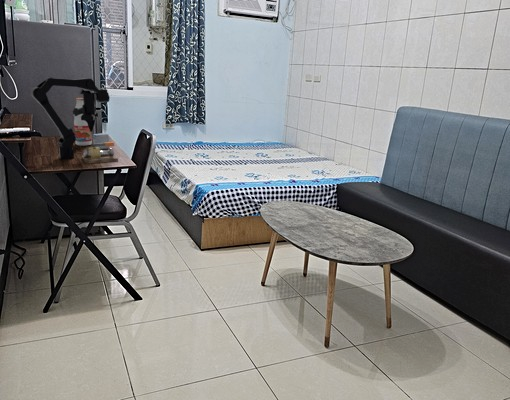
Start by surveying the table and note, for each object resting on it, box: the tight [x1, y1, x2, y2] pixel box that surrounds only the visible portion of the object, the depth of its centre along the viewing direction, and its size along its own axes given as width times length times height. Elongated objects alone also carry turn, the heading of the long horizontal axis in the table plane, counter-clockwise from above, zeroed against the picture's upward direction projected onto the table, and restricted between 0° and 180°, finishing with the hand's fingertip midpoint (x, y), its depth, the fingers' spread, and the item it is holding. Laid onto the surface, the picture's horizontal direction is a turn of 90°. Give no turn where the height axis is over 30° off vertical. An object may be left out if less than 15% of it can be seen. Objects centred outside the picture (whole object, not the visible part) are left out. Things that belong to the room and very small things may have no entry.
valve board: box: [81, 146, 119, 164], centre depth 231 cm, size 16×13×7 cm
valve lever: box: [90, 141, 115, 147], centre depth 233 cm, size 11×3×2 cm, turn 115°
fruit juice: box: [73, 97, 93, 146], centre depth 268 cm, size 9×9×28 cm
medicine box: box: [92, 132, 110, 150], centre depth 260 cm, size 8×4×9 cm, turn 141°
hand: (91, 131), depth 239 cm, fingers closed
